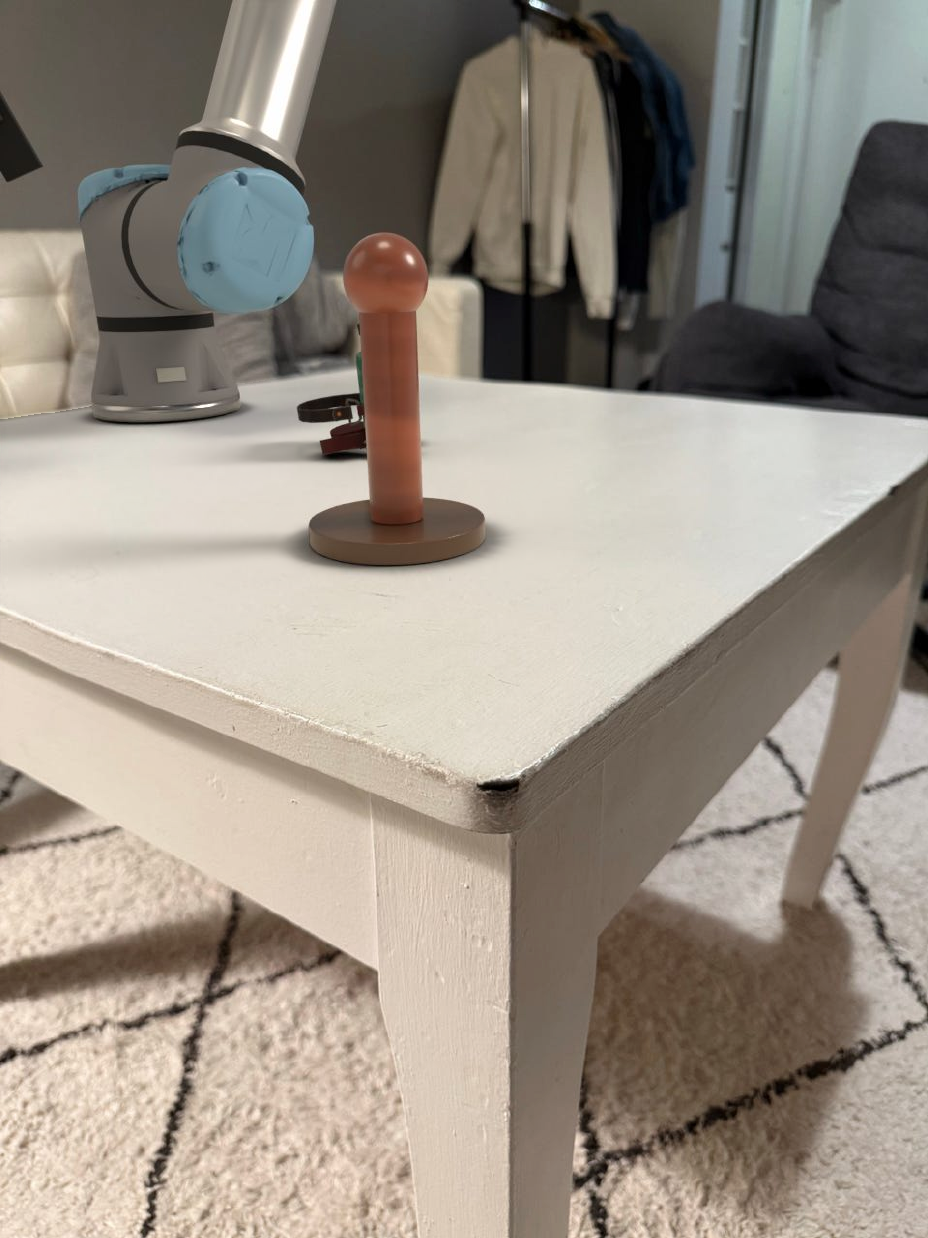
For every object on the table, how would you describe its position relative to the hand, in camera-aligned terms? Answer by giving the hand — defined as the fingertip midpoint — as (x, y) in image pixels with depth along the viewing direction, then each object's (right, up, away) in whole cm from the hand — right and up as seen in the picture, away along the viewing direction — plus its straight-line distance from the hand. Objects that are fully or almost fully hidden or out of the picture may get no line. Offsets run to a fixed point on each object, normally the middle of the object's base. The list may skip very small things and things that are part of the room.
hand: (25, 173), depth 67 cm
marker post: (+28, -28, -14) cm, 42 cm away
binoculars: (+23, -19, +10) cm, 31 cm away
